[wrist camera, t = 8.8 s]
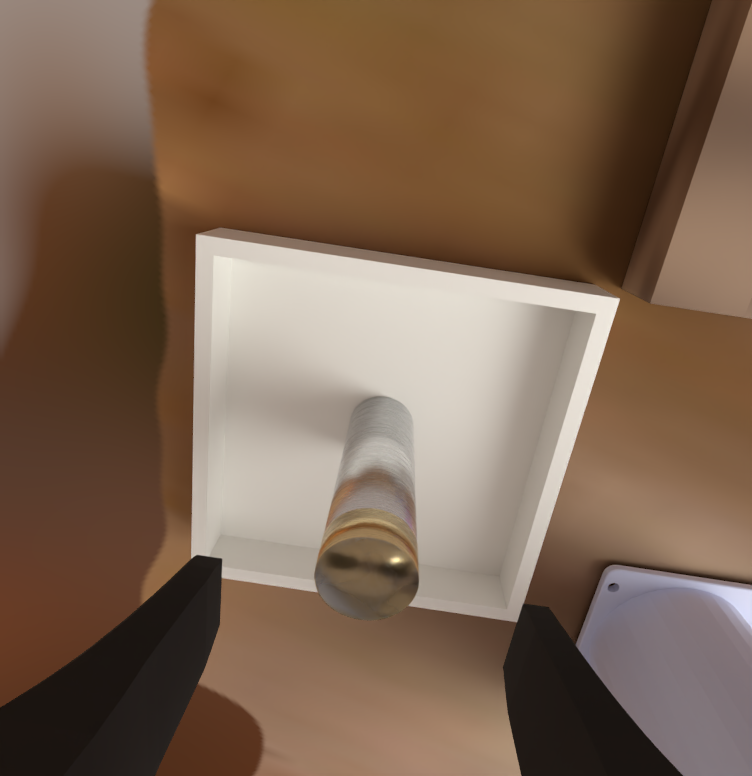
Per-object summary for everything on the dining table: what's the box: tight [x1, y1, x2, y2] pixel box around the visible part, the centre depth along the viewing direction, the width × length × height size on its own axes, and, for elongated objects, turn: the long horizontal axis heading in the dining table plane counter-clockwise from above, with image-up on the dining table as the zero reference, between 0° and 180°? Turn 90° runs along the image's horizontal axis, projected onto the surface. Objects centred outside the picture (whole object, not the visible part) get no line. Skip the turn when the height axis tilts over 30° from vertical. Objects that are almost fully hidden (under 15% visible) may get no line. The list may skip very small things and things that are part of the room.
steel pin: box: [314, 396, 419, 621], centre depth 18 cm, size 3×3×9 cm
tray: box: [191, 228, 620, 622], centre depth 21 cm, size 14×14×2 cm
